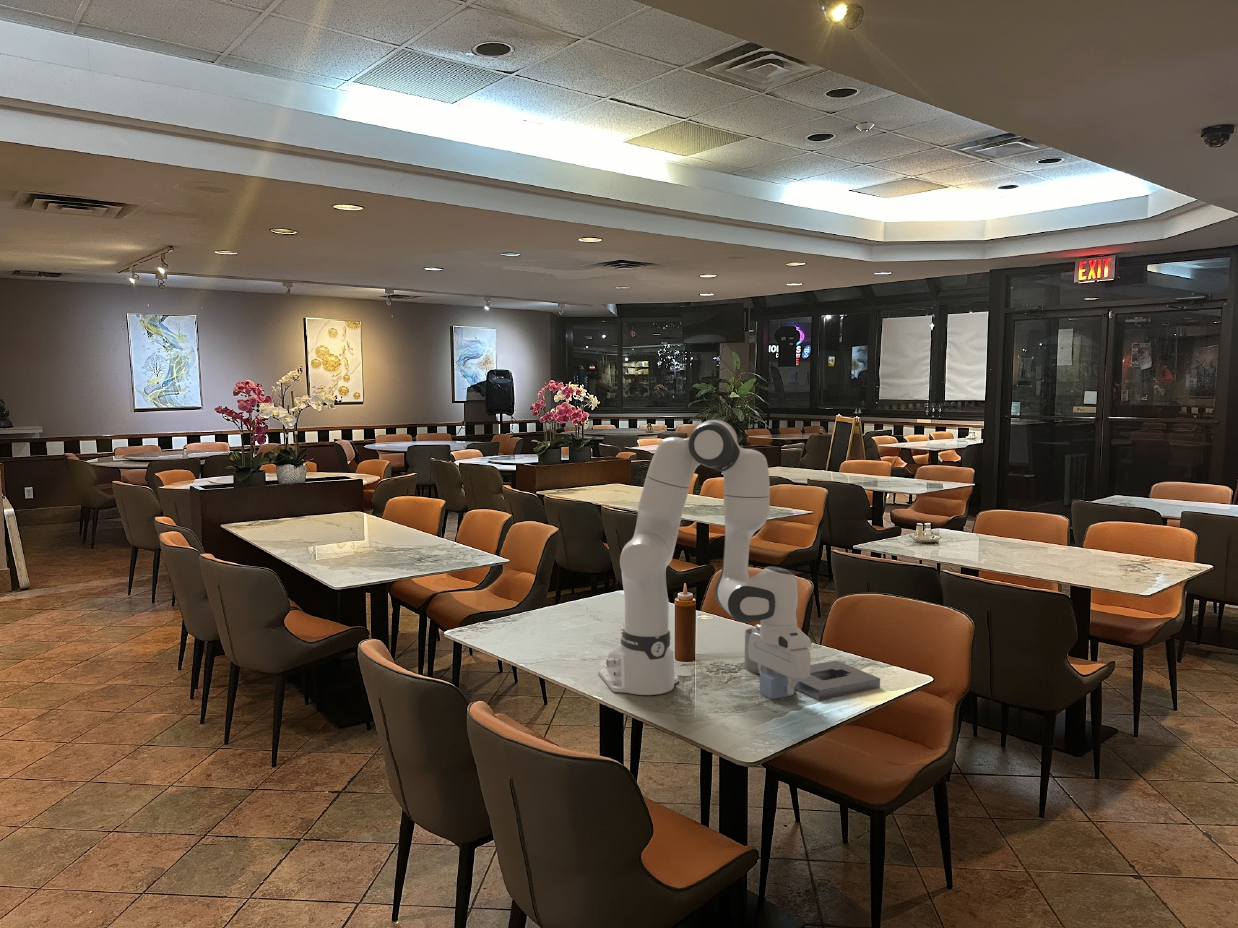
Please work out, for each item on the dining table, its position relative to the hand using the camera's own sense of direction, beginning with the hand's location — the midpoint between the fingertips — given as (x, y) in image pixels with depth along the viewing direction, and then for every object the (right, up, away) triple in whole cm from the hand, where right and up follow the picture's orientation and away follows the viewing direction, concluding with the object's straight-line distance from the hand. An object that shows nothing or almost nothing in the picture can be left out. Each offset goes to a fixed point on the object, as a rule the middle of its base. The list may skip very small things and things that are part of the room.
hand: (776, 687), depth 200 cm
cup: (-1, 0, +20) cm, 20 cm away
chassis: (+15, -1, +8) cm, 17 cm away
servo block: (0, -2, 0) cm, 2 cm away
